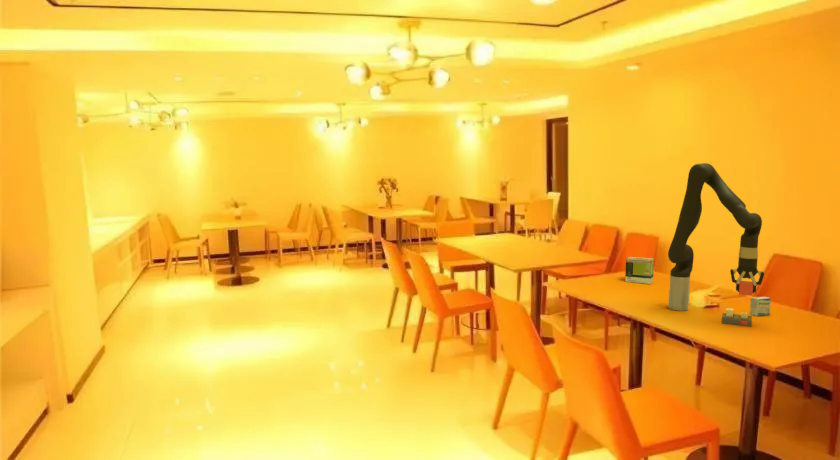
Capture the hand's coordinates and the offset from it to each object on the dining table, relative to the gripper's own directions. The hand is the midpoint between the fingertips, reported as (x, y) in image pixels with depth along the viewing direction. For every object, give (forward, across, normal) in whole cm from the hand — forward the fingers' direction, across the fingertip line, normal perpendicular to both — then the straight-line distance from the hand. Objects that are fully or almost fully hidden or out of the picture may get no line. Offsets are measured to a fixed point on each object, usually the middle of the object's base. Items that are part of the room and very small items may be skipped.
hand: (745, 292), depth 261 cm
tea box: (+15, -56, +70) cm, 91 cm away
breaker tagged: (+15, 0, 0) cm, 15 cm away
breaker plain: (+13, -6, 0) cm, 15 cm away
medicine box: (+15, +7, +20) cm, 26 cm away
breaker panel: (+15, -3, 0) cm, 15 cm away
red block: (+1, 0, 0) cm, 1 cm away
